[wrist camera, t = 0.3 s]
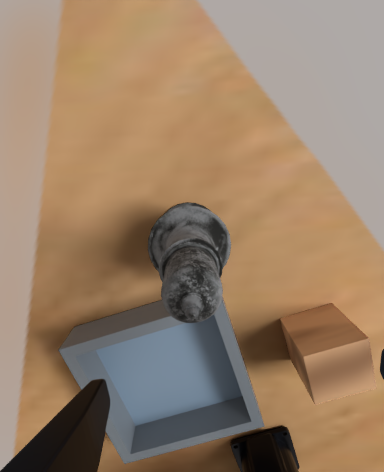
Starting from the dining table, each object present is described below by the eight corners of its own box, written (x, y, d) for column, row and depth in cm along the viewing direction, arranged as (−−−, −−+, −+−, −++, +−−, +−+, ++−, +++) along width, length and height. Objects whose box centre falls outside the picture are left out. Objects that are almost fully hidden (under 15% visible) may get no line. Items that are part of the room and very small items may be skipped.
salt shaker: (142, 248, 21) (93, 348, 10) (172, 186, 20) (154, 216, 8) (203, 276, 22) (224, 397, 11) (236, 218, 21) (299, 285, 9)
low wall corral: (255, 397, 26) (264, 426, 23) (131, 432, 27) (124, 463, 24) (217, 282, 22) (222, 300, 20) (74, 327, 23) (58, 350, 20)
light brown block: (339, 344, 25) (376, 388, 20) (290, 358, 25) (315, 404, 20) (331, 302, 23) (369, 338, 19) (279, 317, 24) (303, 356, 19)
